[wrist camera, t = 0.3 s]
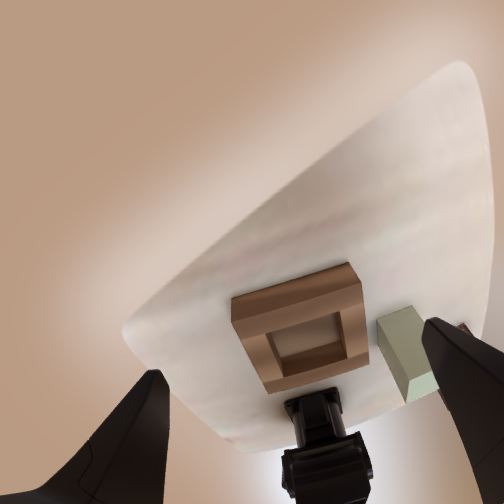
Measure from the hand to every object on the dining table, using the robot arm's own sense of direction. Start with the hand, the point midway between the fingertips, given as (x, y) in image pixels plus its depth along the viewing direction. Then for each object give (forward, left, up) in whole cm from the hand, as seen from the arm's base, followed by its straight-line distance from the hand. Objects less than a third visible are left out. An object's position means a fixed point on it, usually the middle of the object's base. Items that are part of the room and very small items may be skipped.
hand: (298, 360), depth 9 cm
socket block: (-11, 0, -14) cm, 18 cm away
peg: (-16, -9, -14) cm, 23 cm away
